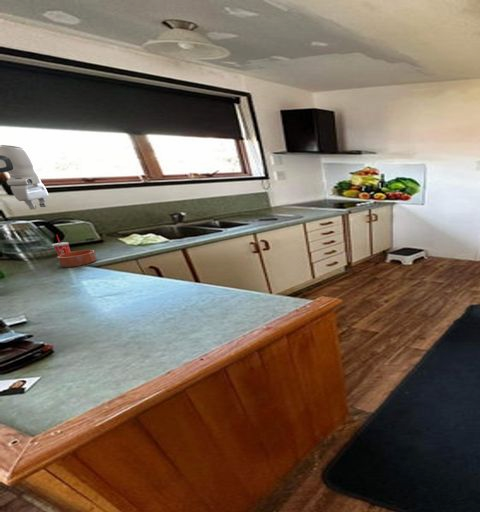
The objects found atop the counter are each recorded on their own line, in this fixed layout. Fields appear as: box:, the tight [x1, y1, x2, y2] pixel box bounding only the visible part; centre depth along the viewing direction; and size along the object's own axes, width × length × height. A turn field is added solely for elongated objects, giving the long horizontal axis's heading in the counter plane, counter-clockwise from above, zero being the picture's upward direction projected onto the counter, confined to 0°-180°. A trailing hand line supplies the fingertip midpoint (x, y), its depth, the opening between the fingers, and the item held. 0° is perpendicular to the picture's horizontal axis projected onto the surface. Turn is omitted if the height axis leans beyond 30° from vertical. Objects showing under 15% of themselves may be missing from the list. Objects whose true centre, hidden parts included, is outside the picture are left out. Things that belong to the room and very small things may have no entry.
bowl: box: [56, 249, 98, 268], centre depth 144 cm, size 13×13×6 cm
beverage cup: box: [51, 234, 72, 256], centre depth 150 cm, size 6×6×14 cm
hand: (38, 208), depth 140 cm, fingers open, 8 cm apart
